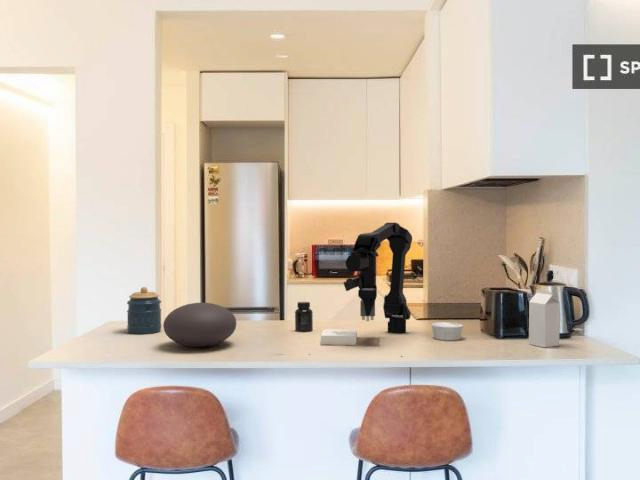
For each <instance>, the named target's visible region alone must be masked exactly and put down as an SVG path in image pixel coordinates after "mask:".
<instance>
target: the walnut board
mask: <svg viewBox="0 0 640 480" xmlns="http://www.w3.org/2000/svg"><path fill="white" fill-rule="evenodd" d="M319 345H320V347H321V346H323V347H373V348H374V347H381V346H380V337H374V336H373V337H372V336H371V337H367V336H366V337H365V336H363V337H362V336H360V337H359V336H357V342H356V345H333V344H321V343H320V344H319Z"/></svg>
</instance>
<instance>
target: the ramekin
mask: <svg viewBox="0 0 640 480" xmlns="http://www.w3.org/2000/svg"><path fill="white" fill-rule="evenodd" d="M431 328H432V334H433V337H434V338H435V340H438V341H448V342H449V341H458V340H460V338H461V336H462V333H463V328H464V325H463V324H460V323H457V322H451V321H450V322H448V321H447V322H446V321H440V322H439V321H438V322H433V323H431Z"/></svg>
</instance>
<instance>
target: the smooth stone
mask: <svg viewBox="0 0 640 480" xmlns="http://www.w3.org/2000/svg"><path fill="white" fill-rule="evenodd" d="M162 326H163V330H164V331H163V332H164V333H165V335H166V336H167V337H168V338H169V339H170V340H171V341H173V342H175V343H177V344H179V345H182V346H185V347H193V348H199V347H200V348H203V347H210V346H214V345H218V344H220V343H222V342H224V341H225V340H227V339H228V338H230V337H231V336H232V335H233V334H234V332H235V330H236V329H237V328H236V327H237V319H236V316H235V315H234V313H232V312H231V310H229V309H227V308H226V307H225V306H223V305H220V304H215V303H213V302H193V303H187V304H184V305H181V306H179V307H177V308H175V309H173V310H172V311H170V312H169V313H168V314H167V316H166V317H165V319H164V321H163V324H162Z"/></svg>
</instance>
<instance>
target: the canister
mask: <svg viewBox="0 0 640 480" xmlns="http://www.w3.org/2000/svg"><path fill="white" fill-rule="evenodd" d="M128 297H129V300H128V301H126V304H127V305H128V307H127V308H128V309H127V310H126V312H127V325H126V327H127V333H129V334H131V335H132V334H133V335H150V334H156V333H159V332H161V331H162V309H161V303H162V301H161V300H160V299H159V297H160V295H159V294H158V293H156V292H154V291H148V288H147V287H146V286H143V287H142V286H141V288H140V291H137V292H132V294H130V295H129V296H128Z"/></svg>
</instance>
